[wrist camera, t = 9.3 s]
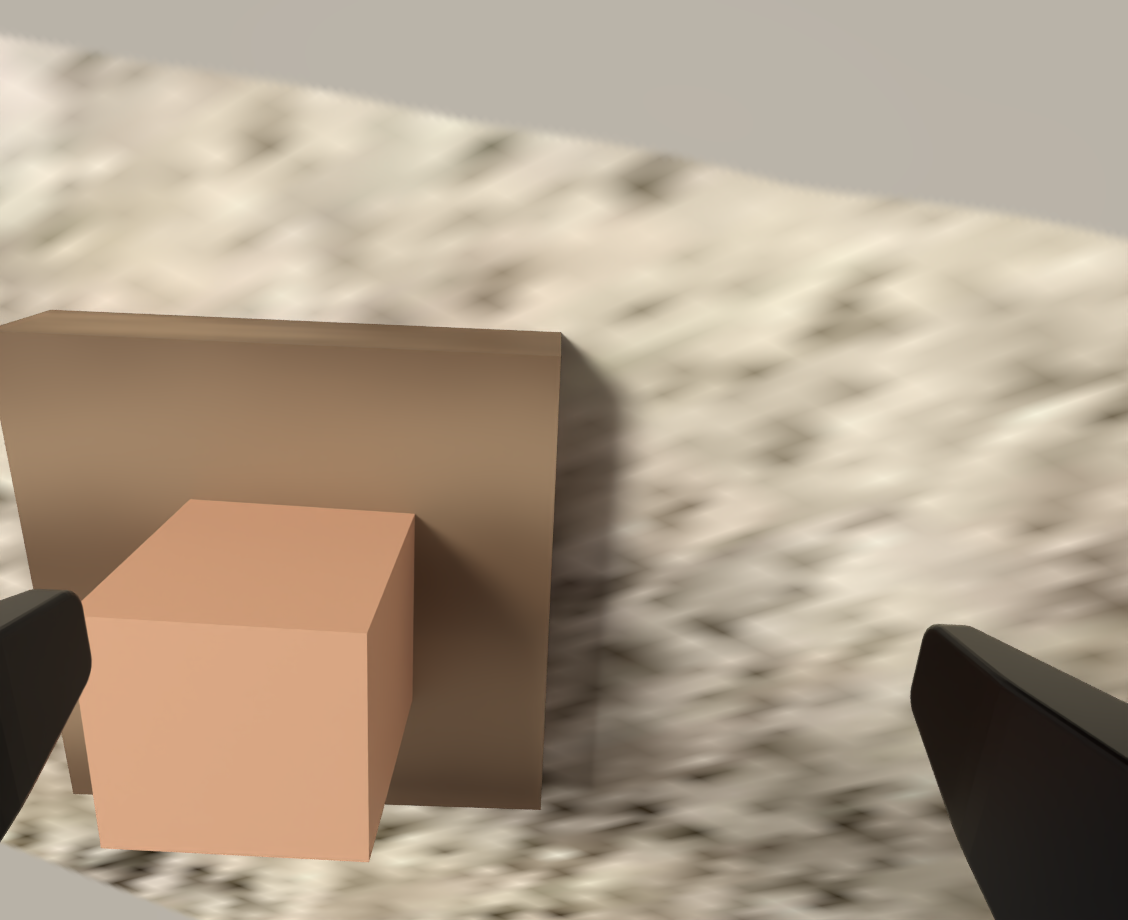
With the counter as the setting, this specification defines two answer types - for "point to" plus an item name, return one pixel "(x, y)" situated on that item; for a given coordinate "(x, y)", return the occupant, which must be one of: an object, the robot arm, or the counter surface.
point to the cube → (251, 681)
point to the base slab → (316, 490)
